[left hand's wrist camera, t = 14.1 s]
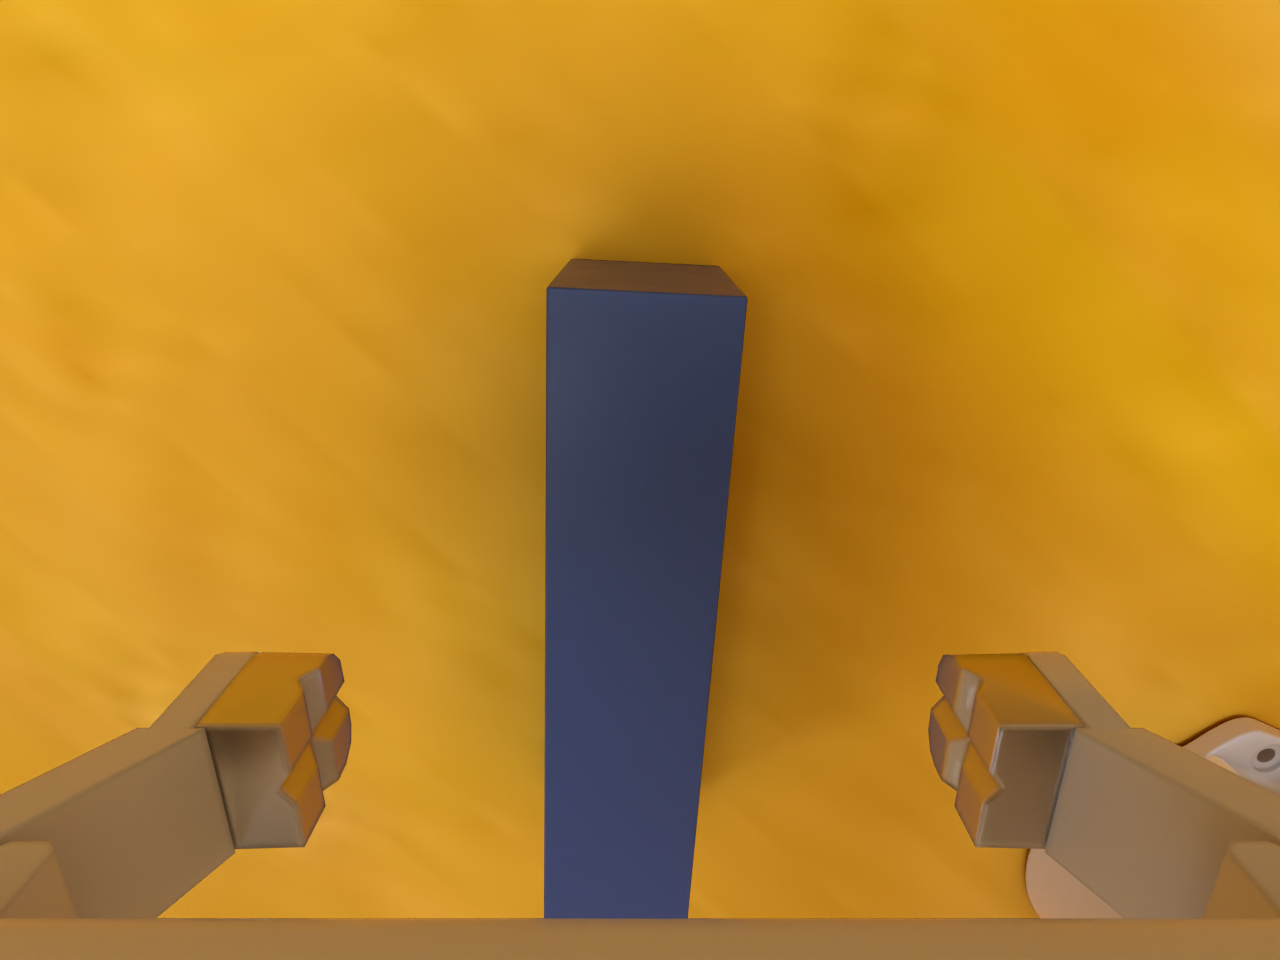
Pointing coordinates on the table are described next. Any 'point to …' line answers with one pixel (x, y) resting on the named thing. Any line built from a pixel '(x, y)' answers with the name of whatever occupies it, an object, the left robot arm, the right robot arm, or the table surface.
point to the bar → (632, 573)
